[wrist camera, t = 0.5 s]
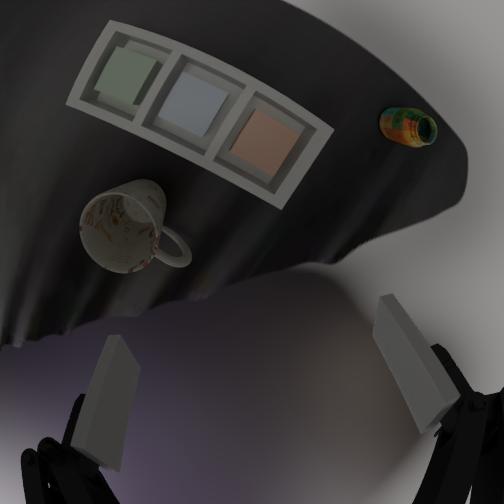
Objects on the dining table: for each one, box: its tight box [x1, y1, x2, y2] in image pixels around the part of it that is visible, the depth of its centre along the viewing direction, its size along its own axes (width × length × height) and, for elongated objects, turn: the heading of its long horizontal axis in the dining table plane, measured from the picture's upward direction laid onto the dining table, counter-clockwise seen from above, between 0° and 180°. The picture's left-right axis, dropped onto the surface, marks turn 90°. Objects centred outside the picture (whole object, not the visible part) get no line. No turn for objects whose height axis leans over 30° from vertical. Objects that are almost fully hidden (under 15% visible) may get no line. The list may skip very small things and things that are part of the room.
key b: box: [158, 72, 229, 137], centre depth 24 cm, size 5×5×2 cm
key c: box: [229, 109, 300, 177], centre depth 26 cm, size 5×5×2 cm
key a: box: [94, 46, 162, 105], centre depth 21 cm, size 5×5×2 cm
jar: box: [379, 108, 437, 147], centre depth 26 cm, size 5×5×8 cm
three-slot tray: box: [66, 20, 334, 210], centre depth 25 cm, size 26×11×6 cm, turn 59°
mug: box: [80, 179, 192, 273], centre depth 28 cm, size 8×13×10 cm, turn 50°
